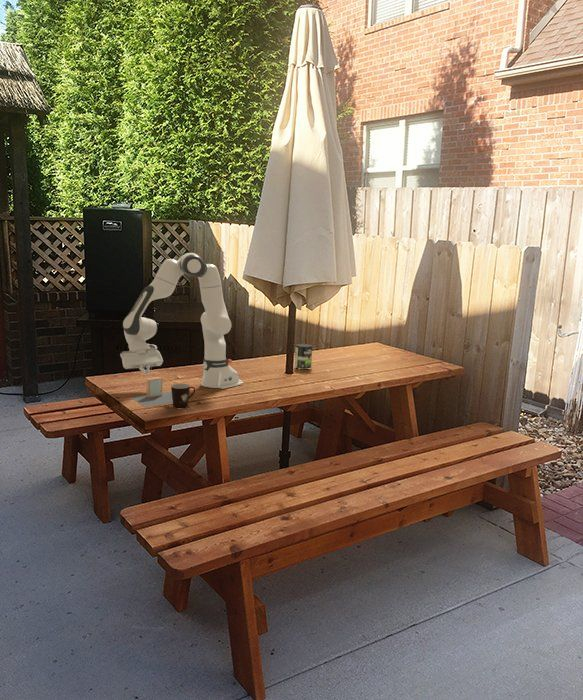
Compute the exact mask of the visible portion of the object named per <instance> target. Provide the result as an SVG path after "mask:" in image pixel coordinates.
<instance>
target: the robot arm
mask: <svg viewBox="0 0 583 700" xmlns="http://www.w3.org/2000/svg"><path fill="white" fill-rule="evenodd" d="M183 275H188V276H189V277H196V278H198V279H197V280H198V283H199V289H200V296H201V303H202V305H203V308H204V312H203V313H202V314H201V315H200V323H201V328H202V333H203V334H202V335H203V341H204V358H203V374H202V380H201V383H200V385H201V386H202V387H204V388H211V389H222V390H224V389H228V388H232V387H236V386H237V387H238V386H242V385H244V382H243V381H242V380H241V379H240V377H239V373H238V371H237V370H236V369H234V368H233V367H232V366H231V365H230V364H232V363H233V361H232V360H233V359H229V358H226V354H227V351H226V350H227V349H226V348H227V343H226V339H225V336H224V335H226V334H229V332H230V331H231V330H232V329H231V328H232V320H231V319H230V317H229V314H228V309H227V307H226V304H225V299H224V294H223V288H222V280H221V275H220V272H219V269H218V267H217V266H216V265H214V264H212V263H206V262H205V261H204V260H203V258H202V257H201V256H200V255H198V254H197V253H195V252H184V253H183V254H181V255H180V256H179V257H178V258H176V259H174V258H166V259H165V260H164V261H163V263H161V265H160V267H159V269H158V270H157V272H156V274H155V277H154V279H153V280H152V281H151V283H150V284H149V285H147V286H145V288H143V290H142V291H141V293H139V297H138V298H137V299H136V301H135V303H134V305H133V306H132V308H131V310H130V311H129V312H128V314H127V315H126V316H125V317H124V319H123V320H122V328H123V333H124V337H125V340H126V343H127V344H128V349H129V350H126V351H121V352H120V354H119V356H120V358H121V361H122V362H121V363H122V367H123V368H124V369H125V370H129V369H139V371H141V372H142V374H143V375H149V374H151V372H150V368H151V367H161V366H162V364H163V362H164V359H163V357H162V354H161V352H160V350H158V346H157V345H155V344H150V343H147V342H146V341H148V340H149V339H152V338H153V337H154V336H155V335H156V334H157V332H158V323H157V322H156V321H155V320H154V319H151V318H148V317H142V315H143V314H144V313H145V311H146V310H147V307H148V306H149V305H150V303H151V302H152V301H156V300H159V299H165V298H168V297H170V296H171V295H172V294H173V293H174V291H175V289H176V286H177V284H178V281H179V280H180V278H181V277H182V276H183ZM145 368H146V369H145Z"/></svg>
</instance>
